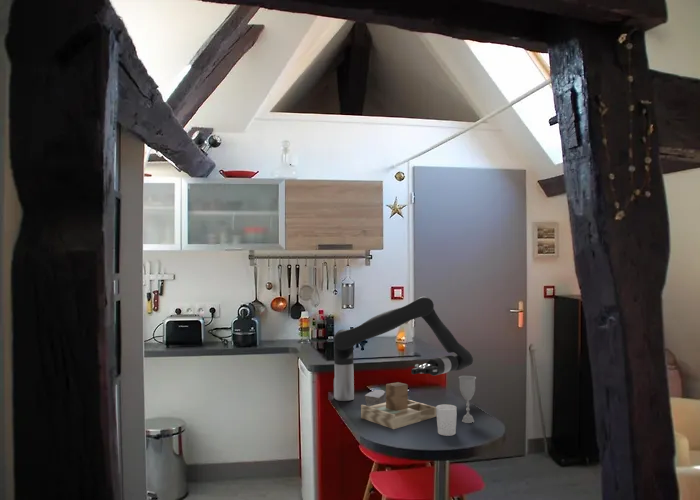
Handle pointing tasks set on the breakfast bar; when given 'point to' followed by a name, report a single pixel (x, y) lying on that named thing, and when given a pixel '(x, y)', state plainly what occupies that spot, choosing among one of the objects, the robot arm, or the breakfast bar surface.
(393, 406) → the walnut block
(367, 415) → the box
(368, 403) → the decorative stone
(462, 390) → the chalice
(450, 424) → the white cup
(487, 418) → the breakfast bar surface
